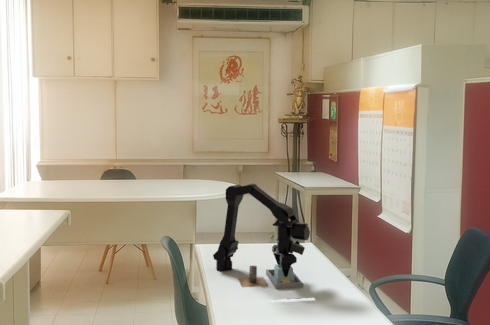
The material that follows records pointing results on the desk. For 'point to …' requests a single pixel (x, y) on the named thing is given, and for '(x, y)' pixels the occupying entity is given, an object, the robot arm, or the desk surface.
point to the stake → (252, 279)
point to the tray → (295, 284)
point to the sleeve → (280, 276)
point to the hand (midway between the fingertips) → (283, 273)
